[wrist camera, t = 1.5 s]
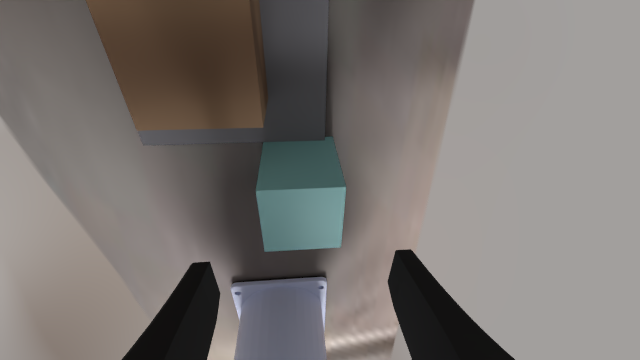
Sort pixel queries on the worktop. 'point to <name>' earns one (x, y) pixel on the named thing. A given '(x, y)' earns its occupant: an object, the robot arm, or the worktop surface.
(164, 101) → the walnut block
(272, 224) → the teal block
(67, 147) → the worktop surface
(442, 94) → the worktop surface
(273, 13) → the mat
